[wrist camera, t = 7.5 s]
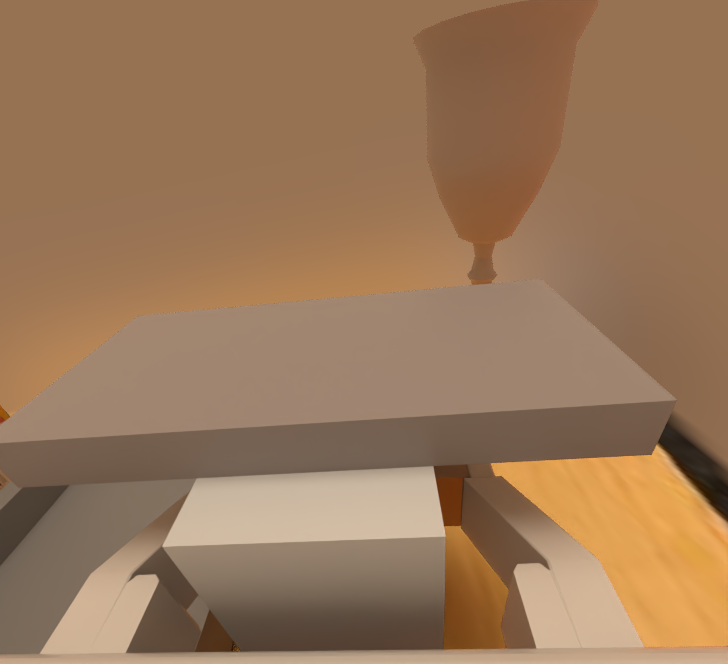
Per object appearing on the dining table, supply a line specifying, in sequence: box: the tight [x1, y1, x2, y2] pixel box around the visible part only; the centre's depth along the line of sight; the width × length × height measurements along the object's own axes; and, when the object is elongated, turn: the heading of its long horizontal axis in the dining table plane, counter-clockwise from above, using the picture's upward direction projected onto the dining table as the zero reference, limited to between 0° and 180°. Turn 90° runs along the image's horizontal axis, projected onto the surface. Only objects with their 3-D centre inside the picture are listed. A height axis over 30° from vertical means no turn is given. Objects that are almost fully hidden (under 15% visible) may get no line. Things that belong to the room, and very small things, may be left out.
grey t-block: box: [0, 279, 677, 652], centre depth 9 cm, size 10×6×12 cm, turn 89°
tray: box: [0, 478, 234, 654], centre depth 13 cm, size 12×16×2 cm
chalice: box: [413, 0, 599, 285], centre depth 19 cm, size 7×7×18 cm
